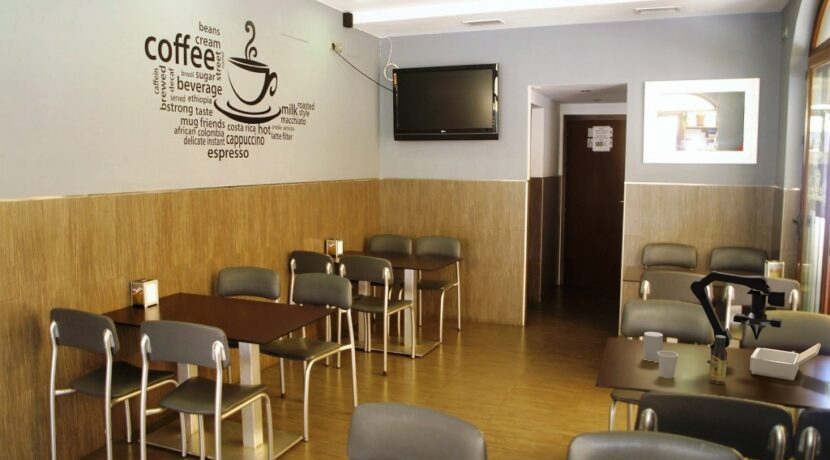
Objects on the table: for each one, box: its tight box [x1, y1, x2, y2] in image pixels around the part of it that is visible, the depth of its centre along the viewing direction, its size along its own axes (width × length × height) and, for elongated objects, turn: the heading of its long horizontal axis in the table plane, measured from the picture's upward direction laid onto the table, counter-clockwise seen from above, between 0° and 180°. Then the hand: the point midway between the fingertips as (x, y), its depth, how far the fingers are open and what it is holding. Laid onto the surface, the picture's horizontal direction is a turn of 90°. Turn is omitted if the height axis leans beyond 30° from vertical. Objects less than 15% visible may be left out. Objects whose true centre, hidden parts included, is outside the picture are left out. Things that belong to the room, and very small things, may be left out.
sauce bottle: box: [708, 335, 728, 385], centre depth 282 cm, size 6×6×20 cm
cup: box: [642, 331, 664, 361], centre depth 313 cm, size 8×8×12 cm
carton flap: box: [796, 342, 822, 366], centre depth 289 cm, size 9×17×1 cm
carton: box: [749, 347, 801, 381], centre depth 297 cm, size 17×20×7 cm
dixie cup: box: [658, 350, 679, 379], centre depth 290 cm, size 8×8×10 cm
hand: (756, 339), depth 300 cm, fingers closed
